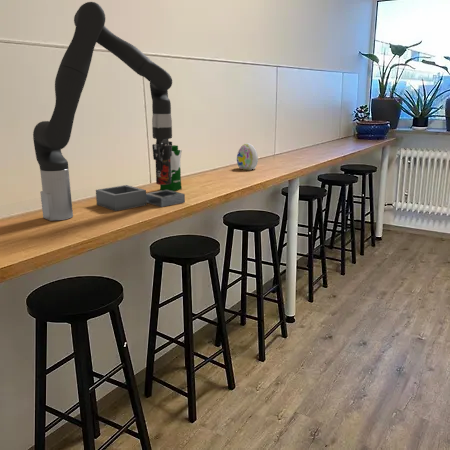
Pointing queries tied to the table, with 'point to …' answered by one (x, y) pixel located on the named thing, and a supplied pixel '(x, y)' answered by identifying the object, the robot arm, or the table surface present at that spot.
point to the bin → (121, 197)
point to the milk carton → (174, 171)
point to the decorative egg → (247, 157)
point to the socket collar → (165, 198)
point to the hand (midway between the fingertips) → (163, 169)
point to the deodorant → (164, 167)
